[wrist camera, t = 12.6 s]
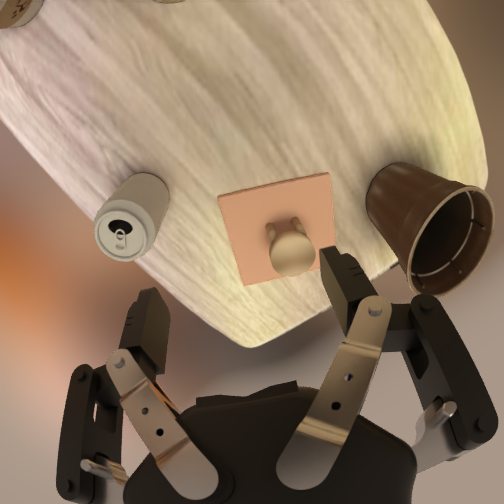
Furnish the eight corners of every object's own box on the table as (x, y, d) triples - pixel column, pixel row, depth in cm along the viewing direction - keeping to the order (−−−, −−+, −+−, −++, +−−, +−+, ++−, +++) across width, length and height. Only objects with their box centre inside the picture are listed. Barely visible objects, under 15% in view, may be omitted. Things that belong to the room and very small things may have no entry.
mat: (217, 196, 38) (217, 198, 38) (328, 172, 38) (329, 174, 37) (243, 283, 47) (243, 286, 46) (334, 261, 47) (336, 264, 46)
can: (171, 172, 36) (151, 208, 26) (169, 221, 40) (153, 270, 30) (120, 170, 34) (84, 204, 24) (122, 217, 38) (93, 264, 28)
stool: (261, 221, 40) (267, 244, 35) (301, 212, 40) (313, 233, 35) (268, 254, 44) (275, 280, 38) (305, 246, 43) (317, 270, 38)
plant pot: (413, 130, 35) (487, 162, 21) (441, 203, 42) (498, 250, 29) (336, 187, 39) (390, 244, 26) (377, 254, 47) (422, 316, 33)
